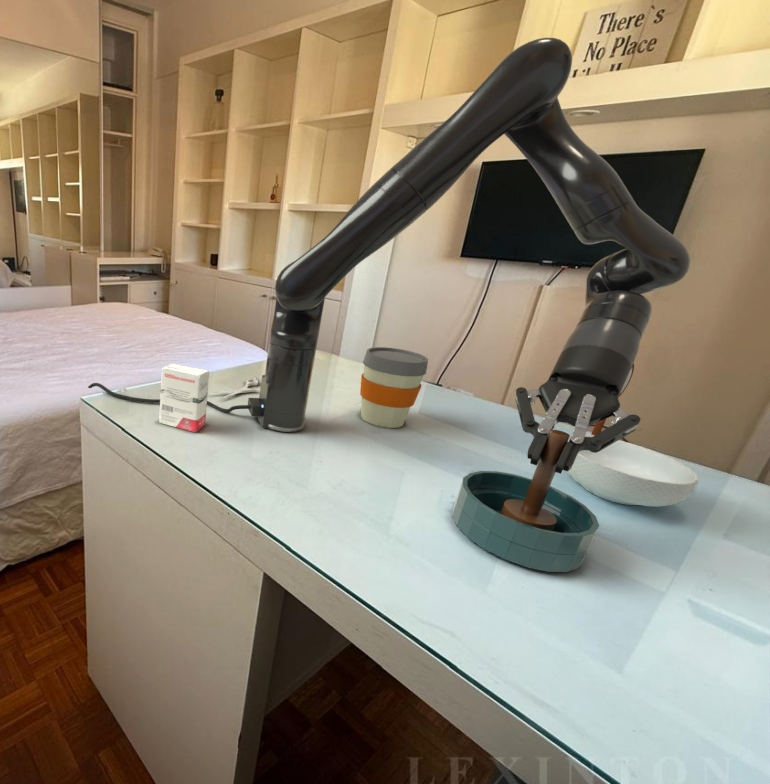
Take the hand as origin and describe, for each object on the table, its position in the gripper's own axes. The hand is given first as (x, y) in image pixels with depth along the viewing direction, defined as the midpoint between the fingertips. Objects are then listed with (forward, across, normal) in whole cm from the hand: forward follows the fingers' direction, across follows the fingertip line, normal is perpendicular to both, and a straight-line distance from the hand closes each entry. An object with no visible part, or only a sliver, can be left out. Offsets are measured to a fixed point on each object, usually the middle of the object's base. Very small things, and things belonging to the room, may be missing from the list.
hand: (546, 465), depth 58 cm
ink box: (+17, -56, 0) cm, 58 cm away
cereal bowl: (-12, +7, +30) cm, 33 cm away
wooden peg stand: (+6, 0, +8) cm, 10 cm away
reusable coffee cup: (-10, -32, +28) cm, 43 cm away
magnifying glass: (-23, +2, +41) cm, 47 cm away
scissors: (-1, -61, +18) cm, 63 cm away
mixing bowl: (+8, -1, +9) cm, 12 cm away
